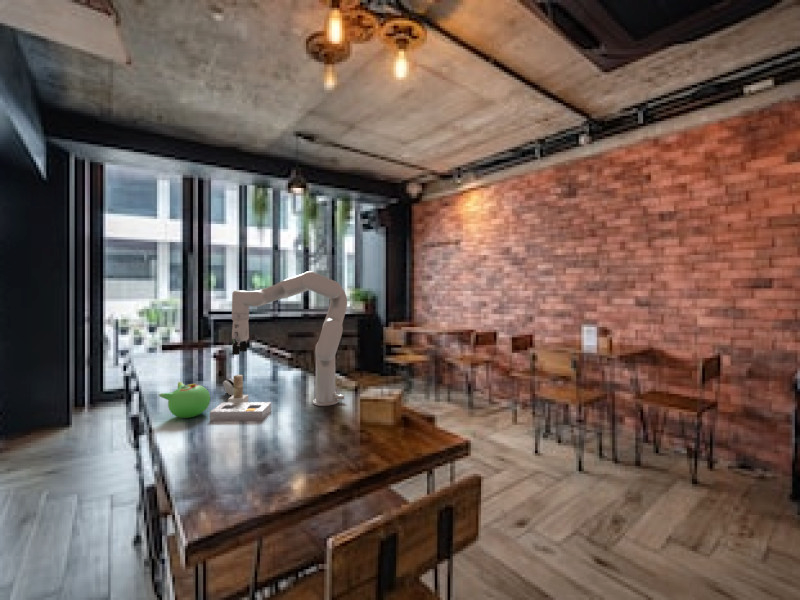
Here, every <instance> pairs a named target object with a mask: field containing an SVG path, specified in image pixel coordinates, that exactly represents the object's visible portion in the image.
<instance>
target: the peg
mask: <svg viewBox="0 0 800 600" xmlns="http://www.w3.org/2000/svg"><path fill="white" fill-rule="evenodd" d="M243 377H244V375H242V374H236V375H233V380H234V398H241V397H243V394H244V391H243V390H244V384H243V383H244V381H243V380H244V378H243Z"/></svg>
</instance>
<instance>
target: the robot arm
mask: <svg viewBox="0 0 800 600" xmlns="http://www.w3.org/2000/svg"><path fill="white" fill-rule="evenodd" d="M308 291H311V292H312V293H313V292H314V293H316V294H318V295H320V296H323V297H325V298H328V299H329V306H328V308H327V309H328V310H327V313H326V316H325V318H324V321H323V324H322V329H321V332H320V335H319V338H318V341H317V343H316V344H315V347H314V348H315V349H314V350H315V398H314V399H313V400H312V404H313V405H314V406H319V407H330V406H333V405H337V404H338V403H339V400H345V395H343V394H337V391H336V354H337V351H338V348H339V344H340V342H341V339H342V336H343V335H342V334H343V332H344V331H343V330H344V329H343V327H344V326H343V322H344V319H345V315H346V312H347V308H348V297H347V294H346V292H345V290H344V289H343V287H342V286H341V284H340V283H339V282H337V281H335V280H333V279H331V278H328V277H326V276H324V275H321V274H319V273H317V272H314V271H311V270H309V271H305V272H304V273H301V274H298V275H294V276H292V277H289V278H286V279H283V280H281V281H279V282H277V283H276V284H273V285H271V286H268V287H265V288H262V289H259V290H250V291H247V290H234V291H233V292H232V293H231V294H232V296H231V320H232V329H231V346H232V348H231V350H232V351H231V352H232V353H231V355H236V356H237V355H240V352H247V350H248V340H249V339H250V332H249V330H250V329H249V327H250V326H249V320H250V319H249V318H250V307H255V308H256V307H258V308H259V307H261V306H264V305H267V304H270V303H273V302H275V301H279V300H282V299H287V298H291V297H294V296H296V295H299V294H302V293H305V292H308Z"/></svg>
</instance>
